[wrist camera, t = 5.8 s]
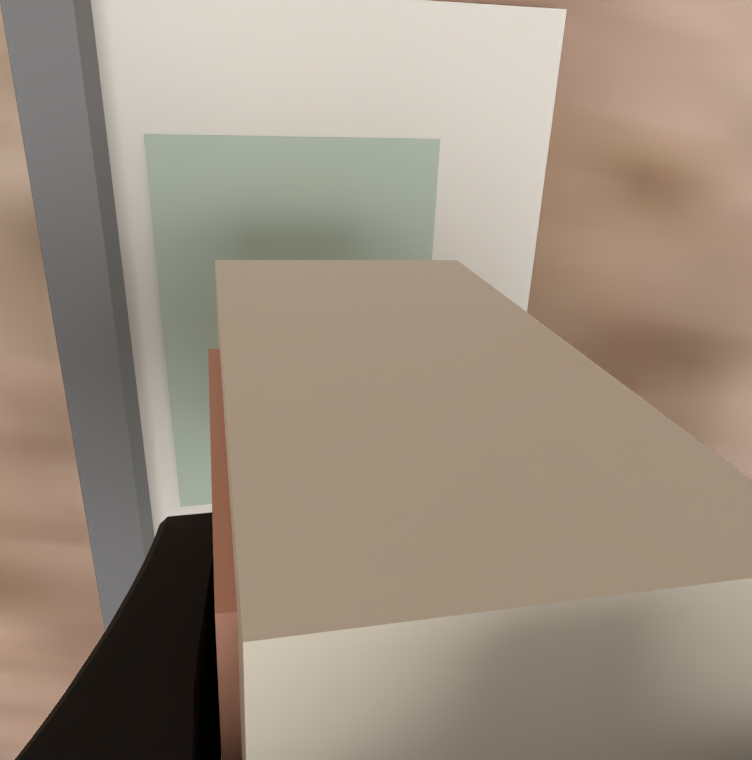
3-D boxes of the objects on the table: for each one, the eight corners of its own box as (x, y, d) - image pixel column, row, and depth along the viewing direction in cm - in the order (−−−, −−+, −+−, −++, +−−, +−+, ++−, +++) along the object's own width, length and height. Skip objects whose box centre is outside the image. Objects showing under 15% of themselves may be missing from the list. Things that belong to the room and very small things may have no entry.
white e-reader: (489, 537, 23) (526, 597, 21) (117, 583, 21) (105, 659, 18) (554, 11, 17) (621, 0, 14) (25, -23, 14) (-15, -44, 12)
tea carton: (457, 260, 12) (864, 564, 4) (422, 587, 14) (637, 1091, 7) (205, 259, 11) (212, 646, 4) (220, 610, 13) (241, 1217, 6)
